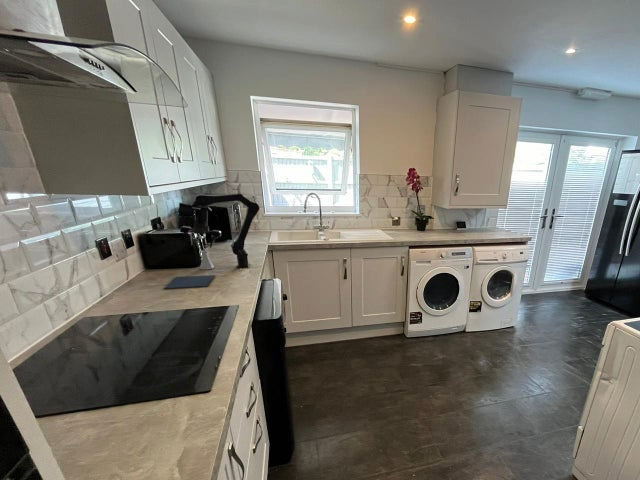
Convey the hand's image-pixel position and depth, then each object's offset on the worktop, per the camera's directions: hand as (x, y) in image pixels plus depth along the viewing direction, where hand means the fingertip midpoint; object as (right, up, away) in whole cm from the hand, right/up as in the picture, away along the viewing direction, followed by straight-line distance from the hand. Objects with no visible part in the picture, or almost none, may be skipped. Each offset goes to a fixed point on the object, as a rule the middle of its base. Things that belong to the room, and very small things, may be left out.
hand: (201, 247), depth 179 cm
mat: (+5, -21, -16) cm, 26 cm away
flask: (-1, -11, +8) cm, 14 cm away
